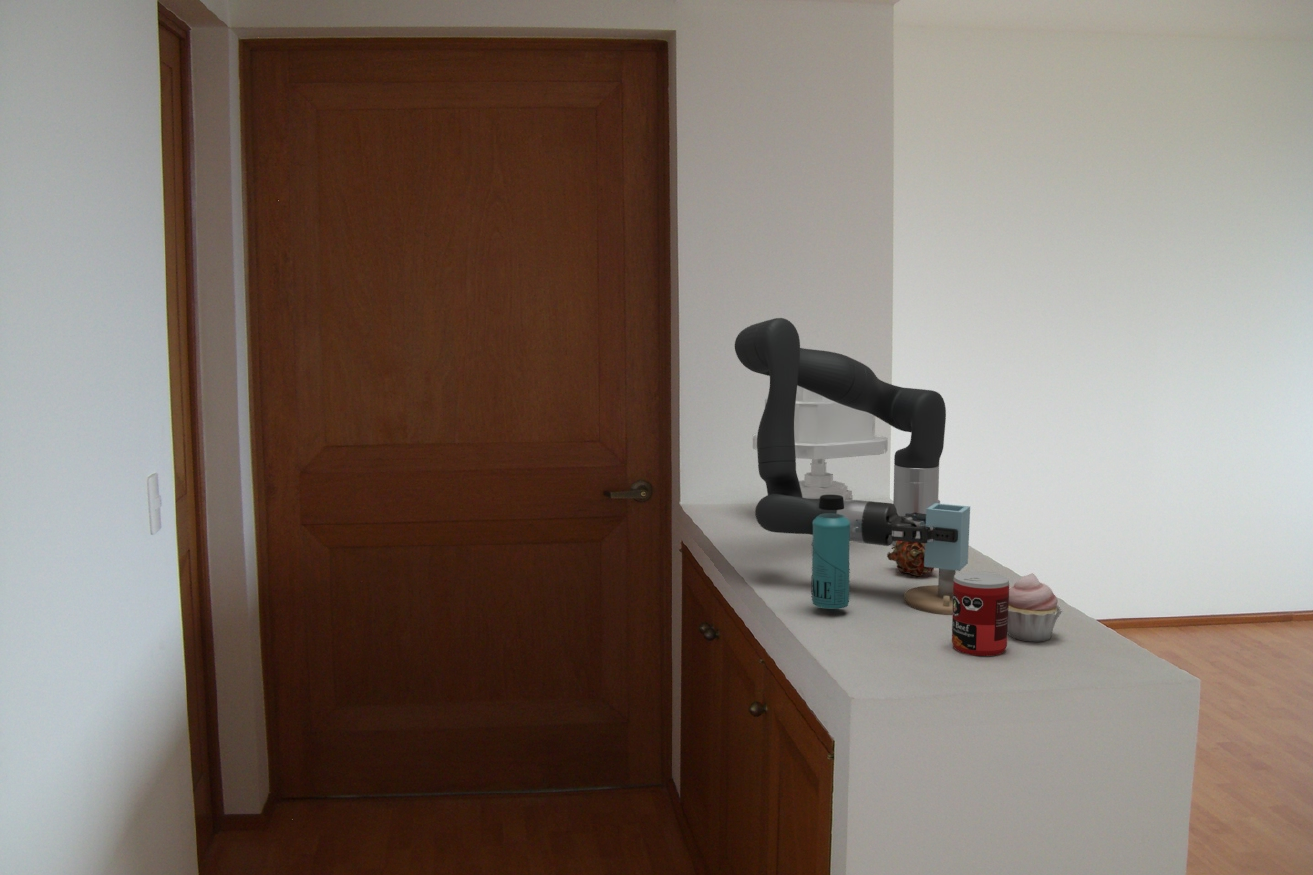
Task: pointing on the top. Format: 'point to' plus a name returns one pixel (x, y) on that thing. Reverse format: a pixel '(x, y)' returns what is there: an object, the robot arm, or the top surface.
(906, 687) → the top surface
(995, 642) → the canned food
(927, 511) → the blue pencil cup
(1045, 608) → the cupcake
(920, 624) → the top surface
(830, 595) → the beverage bottle
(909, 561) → the dragon fruit
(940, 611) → the post plate
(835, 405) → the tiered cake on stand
